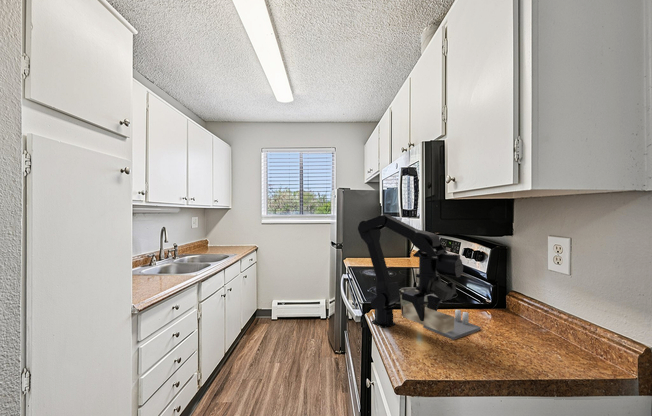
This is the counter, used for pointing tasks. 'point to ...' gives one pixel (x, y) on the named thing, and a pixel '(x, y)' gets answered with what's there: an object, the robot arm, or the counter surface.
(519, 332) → the counter surface
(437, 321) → the beige marbled block
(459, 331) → the peg stand
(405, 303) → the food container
